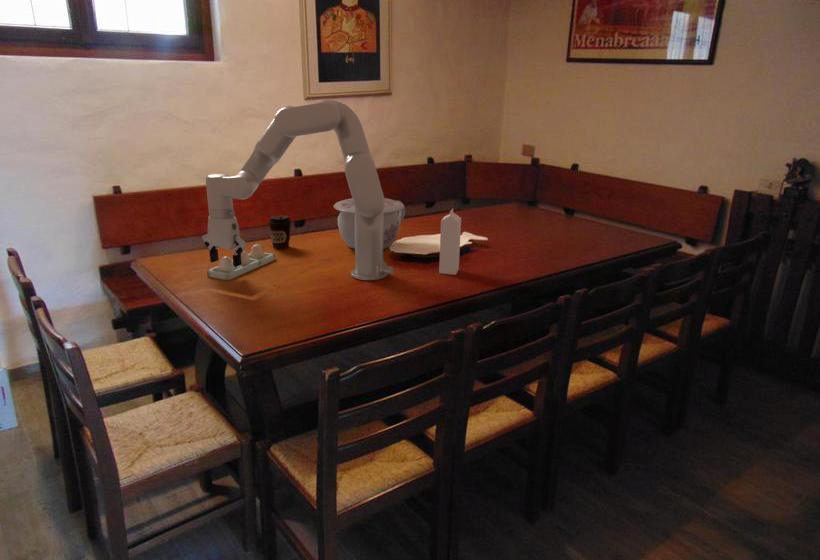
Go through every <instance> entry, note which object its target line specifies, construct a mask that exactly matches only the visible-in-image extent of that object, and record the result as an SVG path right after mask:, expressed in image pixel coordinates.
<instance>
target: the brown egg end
mask: <svg viewBox="0 0 820 560" xmlns="http://www.w3.org/2000/svg"><path fill="white" fill-rule="evenodd" d="M264 252H265V251H264V249H263V247H262V245H260V244H258V243H255V244H254V245H252V246H251V250H250V252H249V253H250V256H251V258H252V259H257V260H259V259H262V258H263V257H264Z"/></svg>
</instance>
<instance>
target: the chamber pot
mask: <svg viewBox="0 0 820 560" xmlns="http://www.w3.org/2000/svg"><path fill="white" fill-rule="evenodd" d="M384 199H385V206H384V209H383V224H384V226H383V229H384V231H383V250H385V249H387V248H389V247H390V245H391V244H392V245H393V244H394V241H395V240H396V239H397V237H398V235H399V232H400V227H401V222H402V221H403V219H404V217H405V215H406V206H405V204H404V203H403V202H402V201H401V200H395V199H392V198H386V197H384ZM333 208H334V210H337V211H338V212H339V215H338V216H337V227H338V231H339V234H340V236H341V238H342V240H343V241H344V243H345V244H346V245H347V246H348V247H349V248H352V249H354V250H355V207H354V201H353V198H347V199H344V200H340V201H337V202H335V203H334V205H333ZM392 245H391V246H392Z"/></svg>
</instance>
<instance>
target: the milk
mask: <svg viewBox="0 0 820 560" xmlns="http://www.w3.org/2000/svg"><path fill="white" fill-rule="evenodd" d="M461 228H462V217H460V215H458V214H456V213H455V212H454V208H452V209H451V210H450V211H449V214H447V215H445V216H444V217H442V219H441V220H440V238H439V243H440V244H439V264H438V265H439V268H438V273H439V274H443V275H451V276H452V275H454V276H456V275H457V274H458V271H459V269H460V253H461V251H460V249H461V231H462V229H461Z"/></svg>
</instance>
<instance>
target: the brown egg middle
mask: <svg viewBox="0 0 820 560" xmlns="http://www.w3.org/2000/svg"><path fill="white" fill-rule="evenodd" d="M248 254H249V253H248V252H247V251H246V250H245V249H244V250H243V252H242V253H241V265H239V266H245V265H247V264H249V261H250V260H249V257H248Z"/></svg>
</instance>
